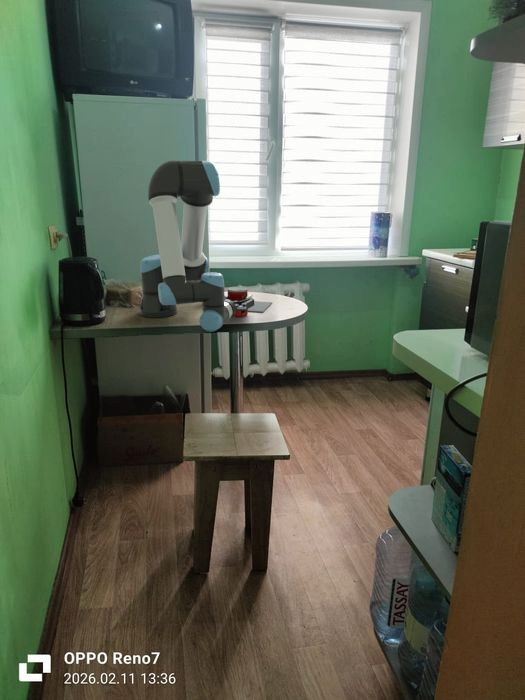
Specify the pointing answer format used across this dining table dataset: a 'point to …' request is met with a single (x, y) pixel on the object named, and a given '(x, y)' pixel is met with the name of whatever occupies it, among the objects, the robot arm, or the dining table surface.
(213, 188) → the robot arm
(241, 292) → the canned food
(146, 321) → the dining table surface
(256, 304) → the slate mat
